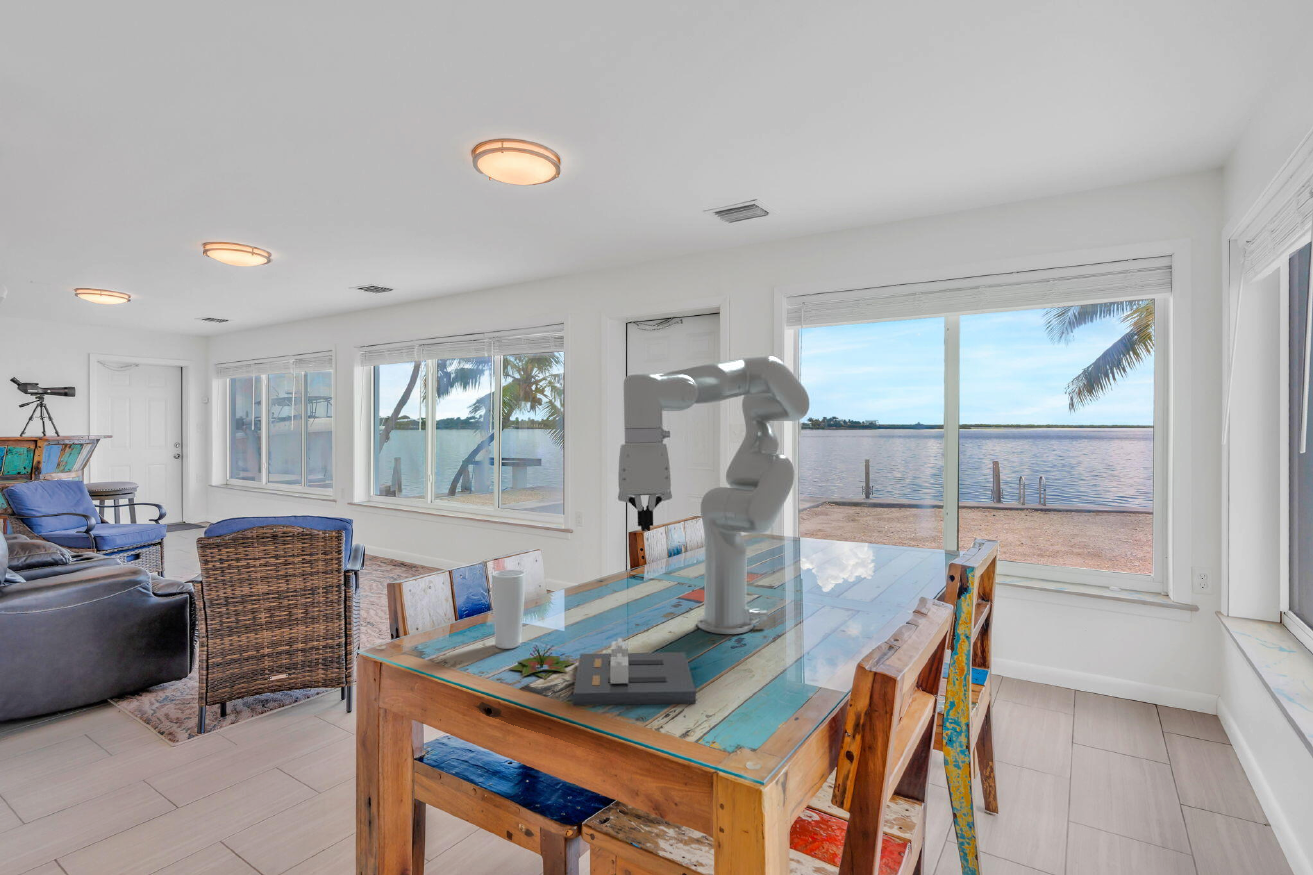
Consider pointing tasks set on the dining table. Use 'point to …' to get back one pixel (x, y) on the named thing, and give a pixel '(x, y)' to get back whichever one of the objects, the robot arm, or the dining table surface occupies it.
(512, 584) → the drinking glass
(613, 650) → the breaker
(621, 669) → the block
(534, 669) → the lily flower
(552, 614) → the dining table surface
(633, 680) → the breaker panel
